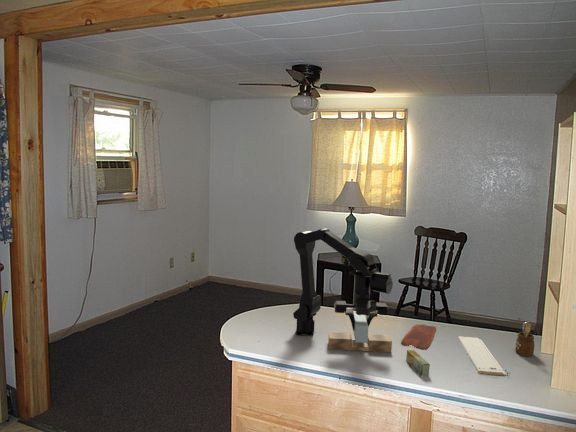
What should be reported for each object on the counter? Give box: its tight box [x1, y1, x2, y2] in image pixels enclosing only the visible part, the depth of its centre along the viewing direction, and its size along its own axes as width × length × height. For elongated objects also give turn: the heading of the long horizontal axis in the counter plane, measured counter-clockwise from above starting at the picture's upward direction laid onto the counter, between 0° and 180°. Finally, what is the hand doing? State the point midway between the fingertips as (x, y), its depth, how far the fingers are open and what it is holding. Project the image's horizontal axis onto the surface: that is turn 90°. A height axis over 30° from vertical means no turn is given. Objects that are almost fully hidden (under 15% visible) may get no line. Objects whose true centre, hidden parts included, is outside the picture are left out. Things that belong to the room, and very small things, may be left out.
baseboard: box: [457, 335, 511, 376], centre depth 165 cm, size 30×3×10 cm
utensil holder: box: [514, 321, 535, 357], centre depth 168 cm, size 6×6×12 cm
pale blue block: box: [352, 311, 369, 343], centre depth 168 cm, size 14×4×6 cm, turn 177°
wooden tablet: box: [400, 324, 437, 350], centre depth 183 cm, size 27×10×2 cm, turn 153°
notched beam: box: [327, 331, 393, 353], centre depth 169 cm, size 22×6×4 cm, turn 87°
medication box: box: [405, 349, 431, 377], centre depth 154 cm, size 12×3×4 cm, turn 10°
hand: (359, 330), depth 169 cm, fingers closed on pale blue block, 4 cm apart
